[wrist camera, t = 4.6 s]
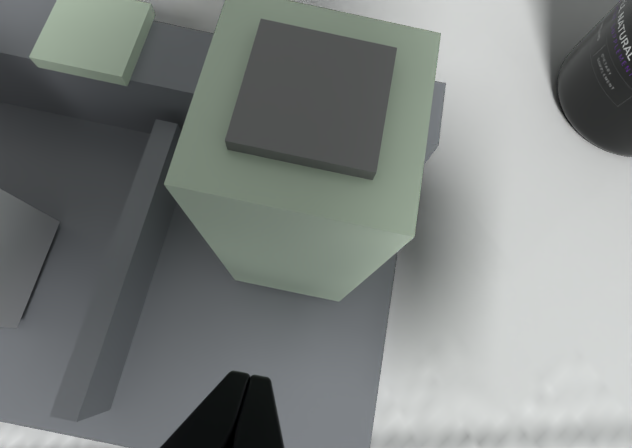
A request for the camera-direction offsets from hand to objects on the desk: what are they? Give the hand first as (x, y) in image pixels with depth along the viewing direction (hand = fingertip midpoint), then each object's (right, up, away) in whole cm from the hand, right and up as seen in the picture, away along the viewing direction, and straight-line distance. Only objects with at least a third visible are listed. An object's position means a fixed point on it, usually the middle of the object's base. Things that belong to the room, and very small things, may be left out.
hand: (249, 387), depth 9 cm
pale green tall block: (+1, +3, +8) cm, 8 cm away
